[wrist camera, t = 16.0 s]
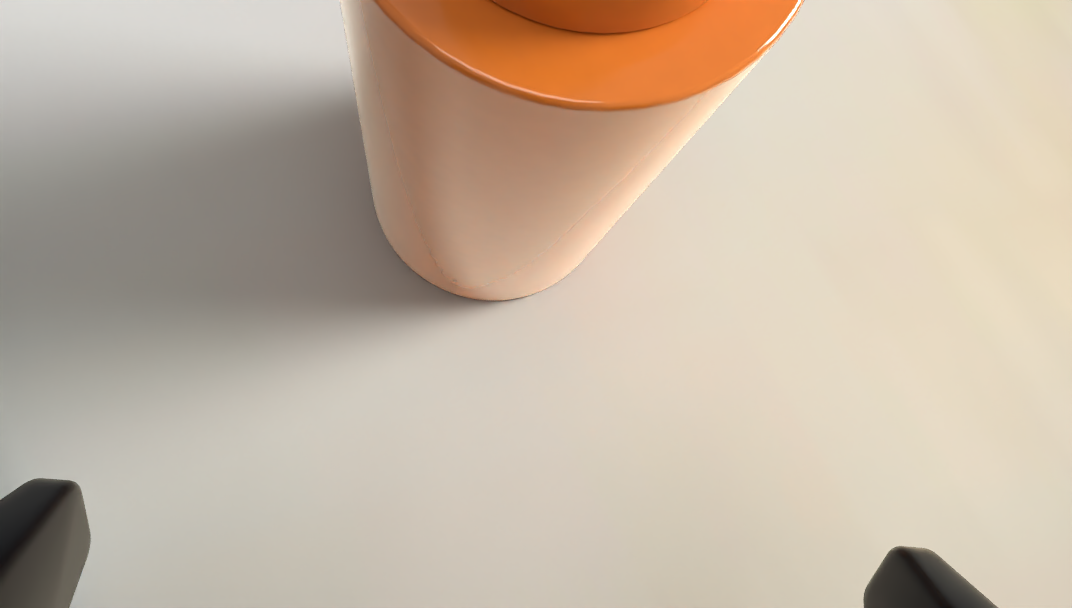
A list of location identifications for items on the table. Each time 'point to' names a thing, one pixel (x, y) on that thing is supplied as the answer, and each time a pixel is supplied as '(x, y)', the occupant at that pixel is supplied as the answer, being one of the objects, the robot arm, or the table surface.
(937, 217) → the table surface
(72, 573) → the robot arm
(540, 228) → the orange bottle
